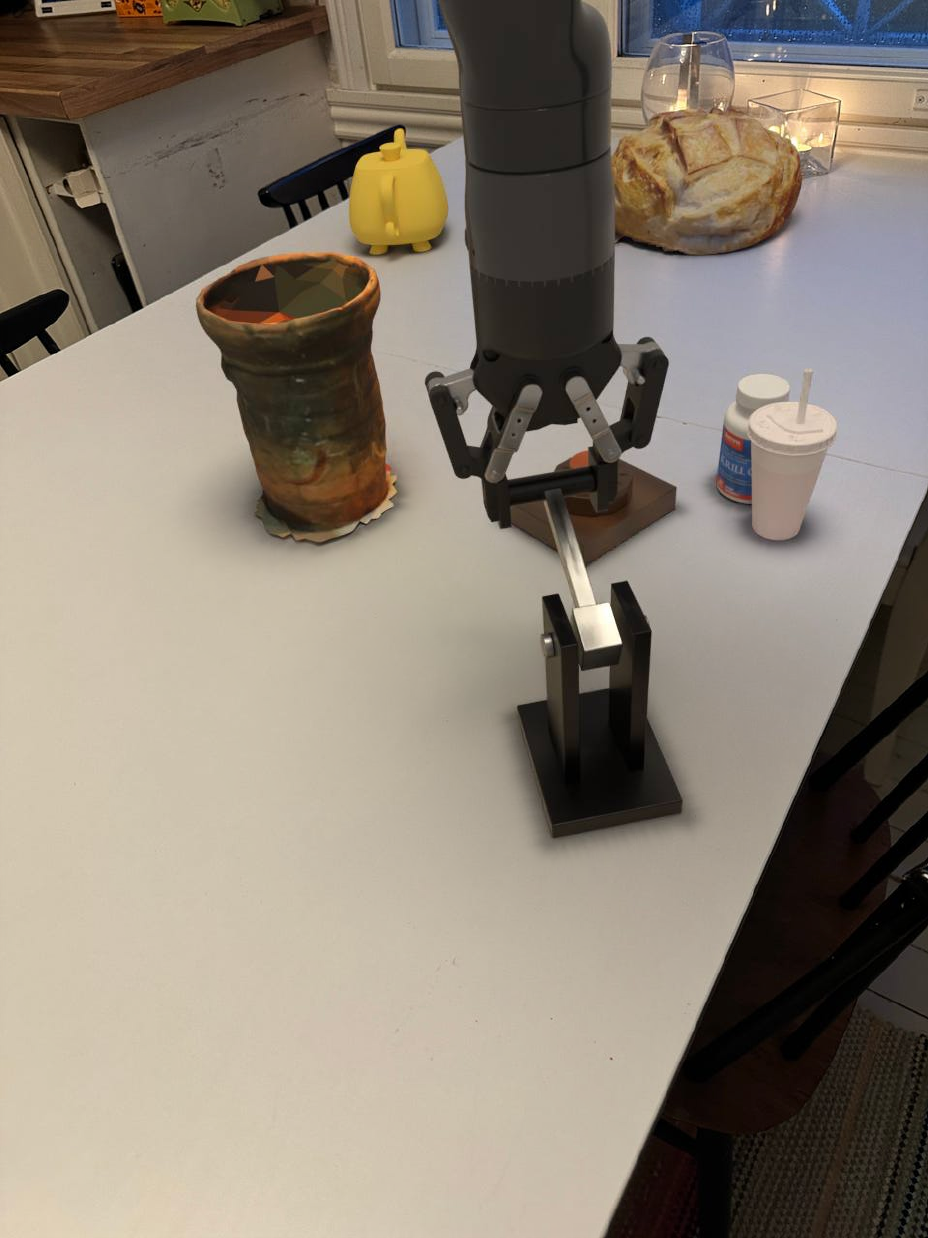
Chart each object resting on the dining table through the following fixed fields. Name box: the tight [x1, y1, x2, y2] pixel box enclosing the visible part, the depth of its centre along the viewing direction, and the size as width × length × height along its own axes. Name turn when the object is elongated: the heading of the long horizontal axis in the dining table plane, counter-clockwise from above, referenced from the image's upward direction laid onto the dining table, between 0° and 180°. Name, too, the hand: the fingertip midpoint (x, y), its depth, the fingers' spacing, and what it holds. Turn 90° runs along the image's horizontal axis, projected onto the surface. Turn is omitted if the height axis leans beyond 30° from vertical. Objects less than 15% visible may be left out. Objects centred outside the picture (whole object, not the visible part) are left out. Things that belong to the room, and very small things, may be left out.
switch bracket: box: [516, 580, 684, 838], centre depth 55 cm, size 10×8×13 cm
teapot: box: [348, 128, 449, 256], centre depth 129 cm, size 14×20×13 cm
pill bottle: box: [716, 373, 791, 505], centre depth 77 cm, size 6×5×10 cm
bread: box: [611, 105, 803, 256], centre depth 122 cm, size 25×27×15 cm
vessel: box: [195, 252, 398, 543], centre depth 78 cm, size 14×14×20 cm
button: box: [570, 449, 588, 469], centre depth 76 cm, size 4×4×2 cm
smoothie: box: [747, 368, 838, 541], centre depth 71 cm, size 6×6×14 cm
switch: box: [508, 466, 623, 672], centre depth 55 cm, size 13×6×2 cm, turn 10°
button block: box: [510, 456, 678, 566], centre depth 78 cm, size 11×9×4 cm
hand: (551, 512), depth 59 cm, fingers closed on switch, 5 cm apart
